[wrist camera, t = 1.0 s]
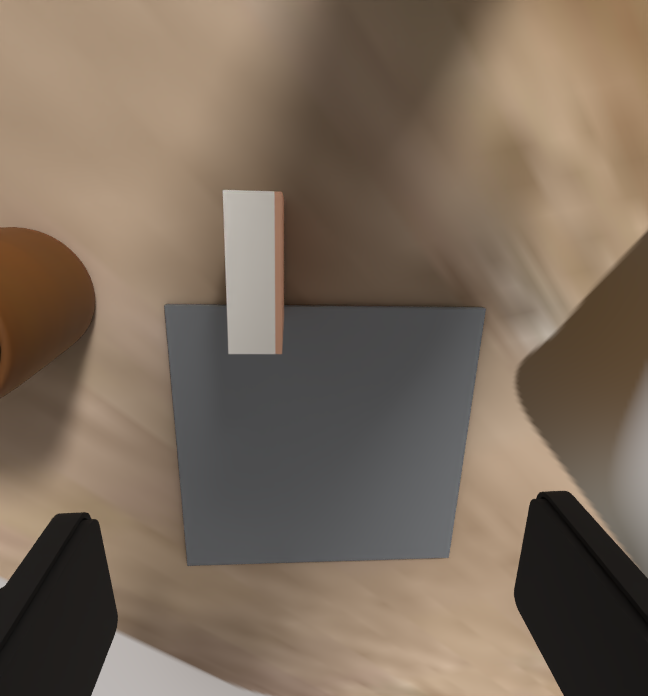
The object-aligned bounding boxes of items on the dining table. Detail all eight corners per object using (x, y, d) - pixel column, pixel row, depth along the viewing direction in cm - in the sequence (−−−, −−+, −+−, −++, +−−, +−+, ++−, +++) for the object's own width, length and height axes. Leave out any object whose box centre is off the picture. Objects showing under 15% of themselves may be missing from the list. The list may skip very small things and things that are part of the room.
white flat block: (241, 197, 27) (222, 189, 19) (283, 198, 27) (281, 191, 19) (244, 316, 29) (228, 354, 21) (284, 317, 29) (281, 354, 21)
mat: (166, 303, 28) (164, 305, 28) (483, 307, 30) (485, 309, 29) (188, 561, 35) (187, 565, 35) (446, 553, 37) (448, 557, 36)
